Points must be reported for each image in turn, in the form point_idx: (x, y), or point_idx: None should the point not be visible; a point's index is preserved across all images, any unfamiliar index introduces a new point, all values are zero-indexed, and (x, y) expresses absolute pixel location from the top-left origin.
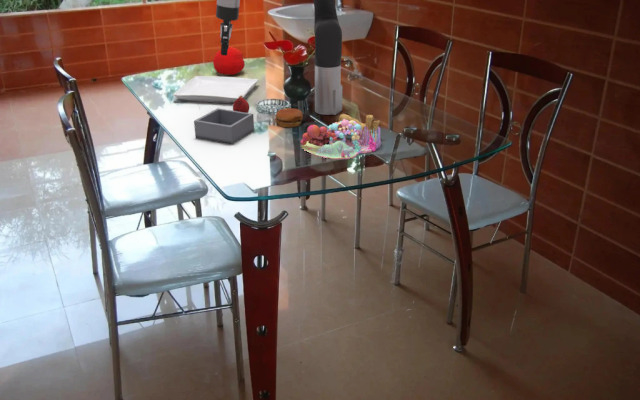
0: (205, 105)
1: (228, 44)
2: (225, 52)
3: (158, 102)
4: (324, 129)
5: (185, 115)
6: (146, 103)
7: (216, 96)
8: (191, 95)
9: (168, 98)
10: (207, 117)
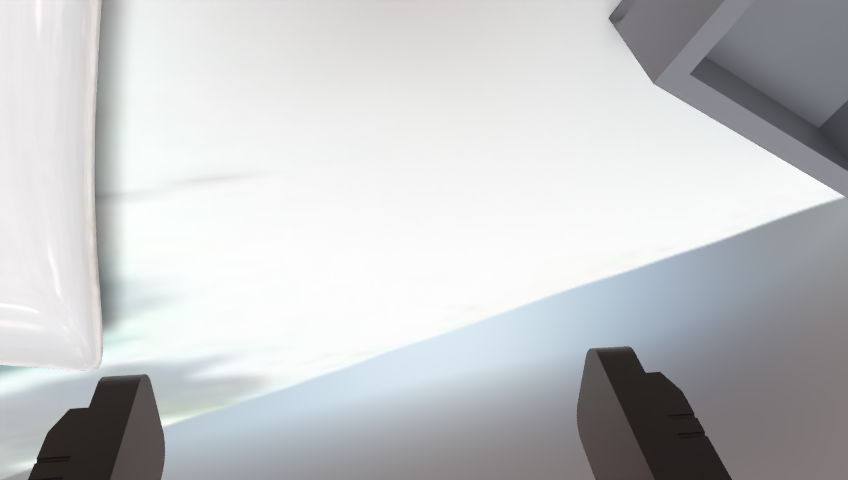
0: (140, 149)
1: (123, 448)
2: (682, 404)
3: None
4: None
5: (369, 239)
6: None
7: (95, 105)
8: (98, 276)
9: None
10: (792, 133)
